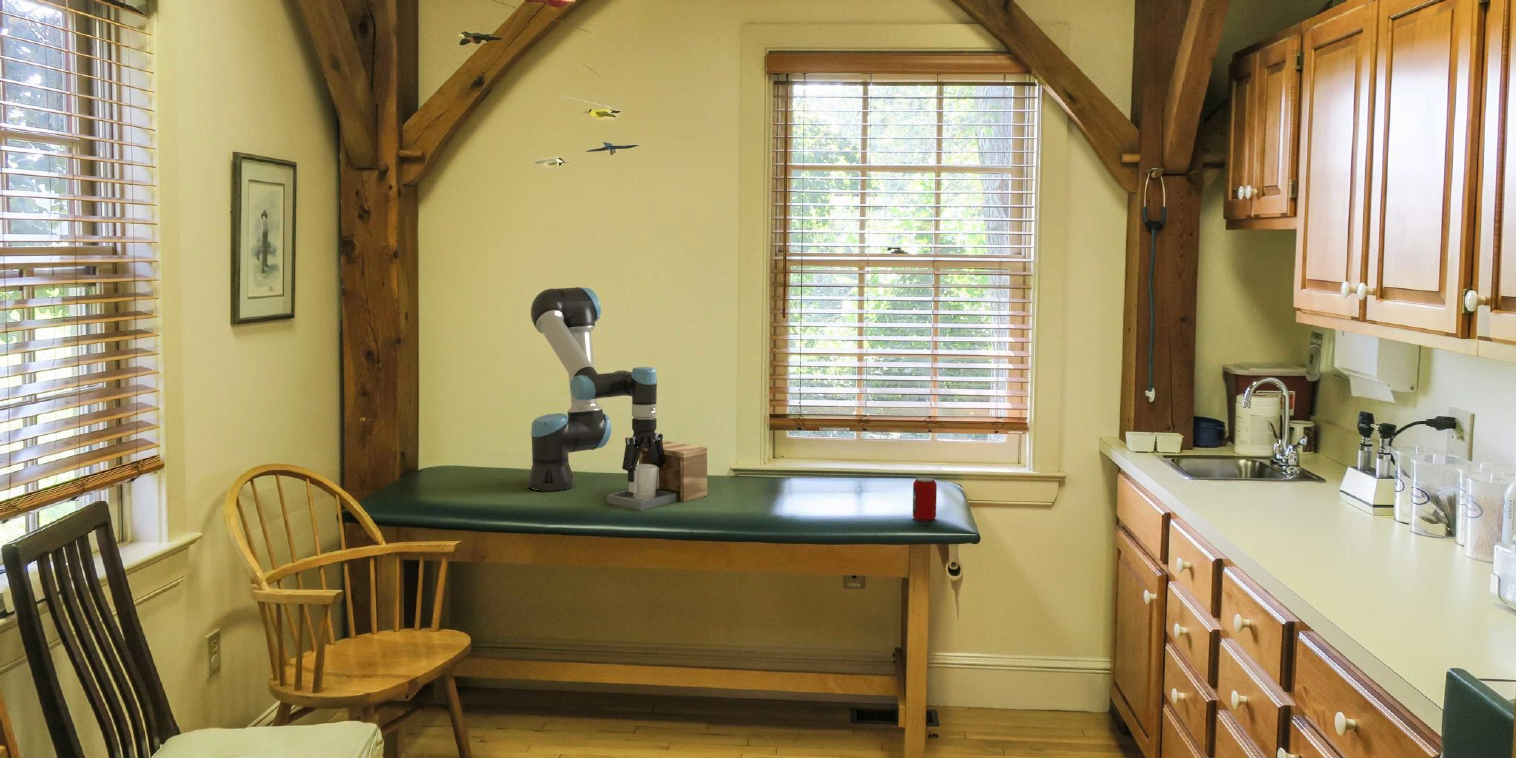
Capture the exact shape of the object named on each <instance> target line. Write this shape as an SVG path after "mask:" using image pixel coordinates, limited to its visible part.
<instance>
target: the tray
mask: <svg viewBox="0 0 1516 758" xmlns="http://www.w3.org/2000/svg"><path fill="white" fill-rule="evenodd" d="M655 491H656V494H655V498H652V499H648V500H644V501H639V500H635V499H634V498H633V492H629V489H626V490H623V491H617V492H614V493H609V494H606V503H607V504H610V505H615V506H619V507H624V508H629V509H633V510H638V511H644V510H648V509H652V508H656V507H659V506H664V505H668V504H671V503H675V502H677V493H676V492H670V491H666V490H665V491H664V490H661V489H656V490H655Z"/></svg>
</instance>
